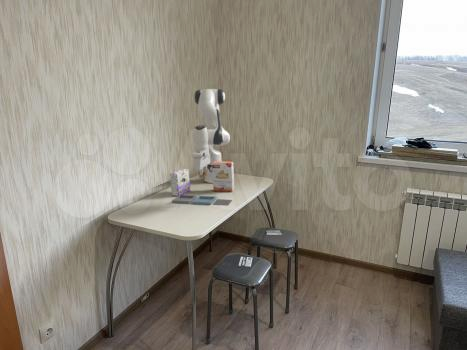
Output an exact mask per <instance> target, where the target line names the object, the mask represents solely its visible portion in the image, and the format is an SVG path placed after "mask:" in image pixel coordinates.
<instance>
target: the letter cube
mask: <svg viewBox="0 0 467 350" xmlns="http://www.w3.org/2000/svg"><path fill="white" fill-rule="evenodd" d="M206 177H207V169H206V170H203V175H200V172H199V171H198V178H200V179H202V178H203V179H206Z"/></svg>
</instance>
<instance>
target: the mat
mask: <svg viewBox="0 0 467 350" xmlns="http://www.w3.org/2000/svg"><path fill="white" fill-rule="evenodd" d="M232 201H233V199H225V198H224V199H220V198H218V199H216V200H215V201H214V202H213V203H212V205H215V206H229V205H230V203H232Z"/></svg>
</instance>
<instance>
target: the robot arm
mask: <svg viewBox="0 0 467 350" xmlns="http://www.w3.org/2000/svg"><path fill="white" fill-rule="evenodd" d="M193 100H194V102H195V104H196V105H198V106H197V107H198V112H199V113H200V115H201V116H203V117H204V122H205V125H203V124H201V125H196V126H195V127H194V129H193V143H194V147H193V148H194V151H193V153H192V155H191V157H192V158H193V159H192V160H193V161H192V163H193V169H194V170H195V171H198V173H199V172H200V175H203V170H207V177H206V178H203V181H204V182H206V183H208V184H213V167H212V163H213V162H214V161H223V160H222V153H221V151H220V150H217V149H214V147H216V146H217V147H218V146H225V145H228V144H229V143H230V140H231V135H230V133H229V132H228V131H227V130H225V129H224V127H223V126H222V120H221V114H220V106H221V105H222V104H224V102H225V100H226V94H225V90H223V89H221V88H218V89H217V88H205V89H198V90H196V91H194V95H193ZM206 125H207V126H206ZM207 127H209V128H212V129H207Z"/></svg>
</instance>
